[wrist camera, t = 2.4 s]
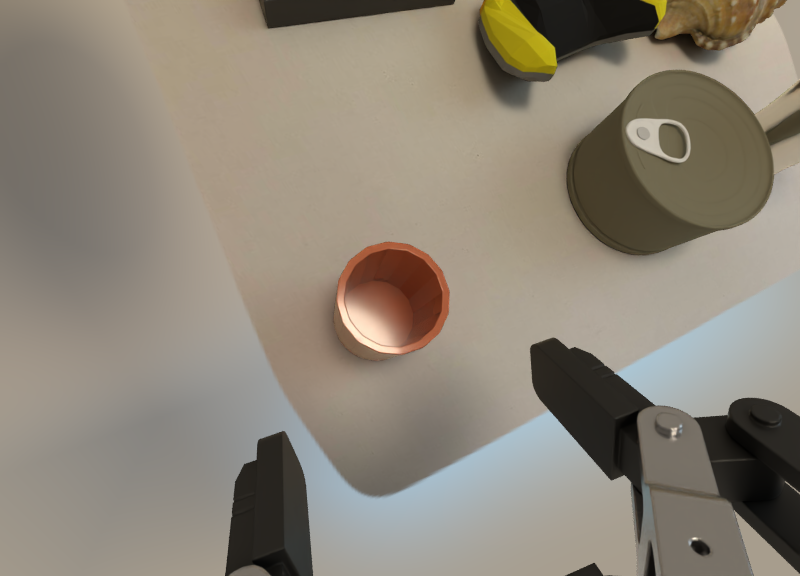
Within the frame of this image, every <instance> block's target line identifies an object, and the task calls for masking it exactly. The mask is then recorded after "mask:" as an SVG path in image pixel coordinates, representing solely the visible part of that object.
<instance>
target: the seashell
mask: <svg viewBox="0 0 800 576" xmlns="http://www.w3.org/2000/svg"><path fill="white" fill-rule="evenodd" d="M666 1H667V3H666V12H665V15H664V17H663V18H662V20H661V21H660V23H659V25H658V26H657V32H656V34H655V38H657V39H661V40H663V39H666V38H670V37H673V36H676V35H678V34H691V35H692V37H693V40H694V41H695V43H696V45H698V46H700V47H702V48H704V49H706V50H723V49H725V48H727V47H730V46H733V45H735V44H738V43H741V42H743V41H744V40H746V39H747V37H748V36H749V35H750V33H751V32H752V31H753V29H754V28H755V26H756V24H758V23H762V22H763V21H765V19H766V18H769V17H771V16H772V14H773V12H774V11H773V10H774V9H776V8H779V7H781V6H782V5H783V4H785V2H786V1H787V0H666Z"/></svg>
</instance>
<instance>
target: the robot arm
mask: <svg viewBox="0 0 800 576" xmlns="http://www.w3.org/2000/svg"><path fill="white" fill-rule="evenodd" d="M530 354H531V370H532V383H533V387H534V389H535V392H536V394H537V396H538V397H539V399H540V400H541V401H542V402H543V404H544V405H545V406H546V407H547V408H548V409H549V410H550V412H551V413H552V414H553V415H554V416H555V417H556V418H557V419H558V421H559V422H560V423H561V424H562V425H563V426H564V427H565V428H566V430H567V431H568V432H569V433H570V434H571V435H572V437H573V438H574V439H575V440H576V441H577V442H578V443H579V445H580V446H581V447H582V448H583V449H584V450H585V451H586V452H587V454H588V455H589V456H590V457H591V458H592V459H593V460H594V462H595V463H596V464H597V465H598V466H599V467H600V468H601V469H602V471H603V472H604V473H605V474H606V475H607V476H608V478H609V479H610V480H614V479H616V478H618V477H621V476H623V475H625V476H626V477H627V478H628V479H629V480H630V481H631V496H632V507H633V517H634V518H633V519H634V530H635V541H636V552H637V576H754V575H753V572H752V569H751V566H750V562H749V559H748V556H747V553H746V549H745V545H744V542H743V539H742V535H741V532H740V529H739V525H738V522H737V519H736V516H735V512H734V510H735V511H736V512H737V513H738V514H739V515H740V516H741V517H742V518H743V519H744V520H745V521H746V522H747V523H748V524H749V525H750V526H751V527H752V528H753V529H754V530H756V532H757V533H758V534H759V535H760V536H761V537H762V538H764V539H765V540H766V541H767V542H768V543H769V544H770V545H771V546H772V547H773V548H774V549H775V550H776V551H777V552H778V553H779V554H780V555H781V556H782V557H783V558H784V559H785V560H786V561H787V562H788V563H789V564H790V565H791V566H792V567H794V569H795V570H797V571H798V572H799V573H800V494H799V493H797V492H796V491H795V490H794V489H792V488H791V487H790V486H789V485H788V484H786V483H785V481H786V482H788V483H789V484H790V485H791V486H792V487H794V488H795V489H796V490H798V491H799V492H800V416H798V415H796V414H795V413H793V412H792V411H790V410H789V409H787V408H785V407H784V406H782V405H779V404H777V403H774V402H772V401H768V400H764V399H759V398H742V399H738V400H736V401H734V402H733V403H732V404H731V405H730V408H729V412H728V415H724V416H711V417H699V418H692V417H691V416H690V415H688V414H687V413H685V412H683V411H681V410H679V409H676V408H673V407H668V406H655V405H654V404H653V403H652V402H650V401H649V400H648V399H647V398H645V397H644V396H643V395H642V394H640V393H639V392H638V391H637V390H636V389H634V388H633V387H632V386H631V385H629V384H628V383H627V382H626V381H624V380H623V379H622V378H621V377H619V376H618V375H617V374H616V375H615V374H614V372H613V371H612V370H611V369H610V368H608V367H607V366H604V364H603V363H602V362H601V361H600V360H598V359H597V358H596V357H595V356H593V355H592V354H591V353H588V352H586V351H583V350H581V349H578V348H576V347H574V348H571V349H568V348H567V347H566V346H565V345H564V344H562V343H561V342H560V341H559V340H558V339H556V338H550V339H547V340H545V341H542V342H539V343H536V344H533V345H532V346H531V348H530ZM233 500H234V503H233V508H232V518H231V527H230V536H229V547H228V556H227V565H226V573H225V576H313V570H312V557H311V545H310V532H309V518H308V507H307V506H308V505H307V493H306V484H305V478H304V474H303V470H302V467H301V465H300V462H299V460H298V458H297V456H296V454H295V451H294V449H293V447H292V445H291V443H290V441H289V438H288V436H287V434H286V433H285V431H282V432H279V433H277V434H274V435H271V436H268V437H265V438H262V439H259V440H258V444H257V460H255V461H252V462H250V463H247V464H244V466H243V468H242V470H241V472H240V474H239V476H238V477H237V480H236V481H235V489H234V498H233ZM566 576H603V574H602V573H601V571H600V570H599V569H598V567H597V566H596V564H595V563H593V564H590V565H588V566H586V567H584V568H581V569H579V570H577V571H575V572H573V573H570V574H568V575H566ZM607 576H610V575H607Z"/></svg>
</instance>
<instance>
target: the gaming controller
mask: <svg viewBox="0 0 800 576" xmlns="http://www.w3.org/2000/svg"><path fill="white" fill-rule="evenodd" d="M666 3H667V1H666V0H484V2H483V4H482V6H481V8H480V18H479V28H480V31H481V34H482V37H483V40H484V43H485V46H486V48H487V49H488V50H489V52H490V53H491V55H492V56H493V57H494V59H495V60H496V62H497V63H498V64H499V66H500V67H501V69H502V70H503V71H505V72H507V73H509V74H511V75H513V76H516V77H519V78H521V79H524V80H526V81H539V82H545V81H549V80H550V79H551V78H552V77H553V75H554V73H555V71H556V68H557V61H558V60H561V59H563V58H565V57H568V56H570V55H572V54H574V53H577V52H579V51H581V50H584V49H586V48H589V47H592V46H595V45H599V44H604V43H610V42H616V41H621V40H627V39H633V38H639V37H645V36H649V35H650V34H651V33H652V32H653V31H654V30H655V29H656V28H657V26H658V25H659V23H660V21H661V20H662V18H663V17H664V15H665V12H666Z"/></svg>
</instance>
